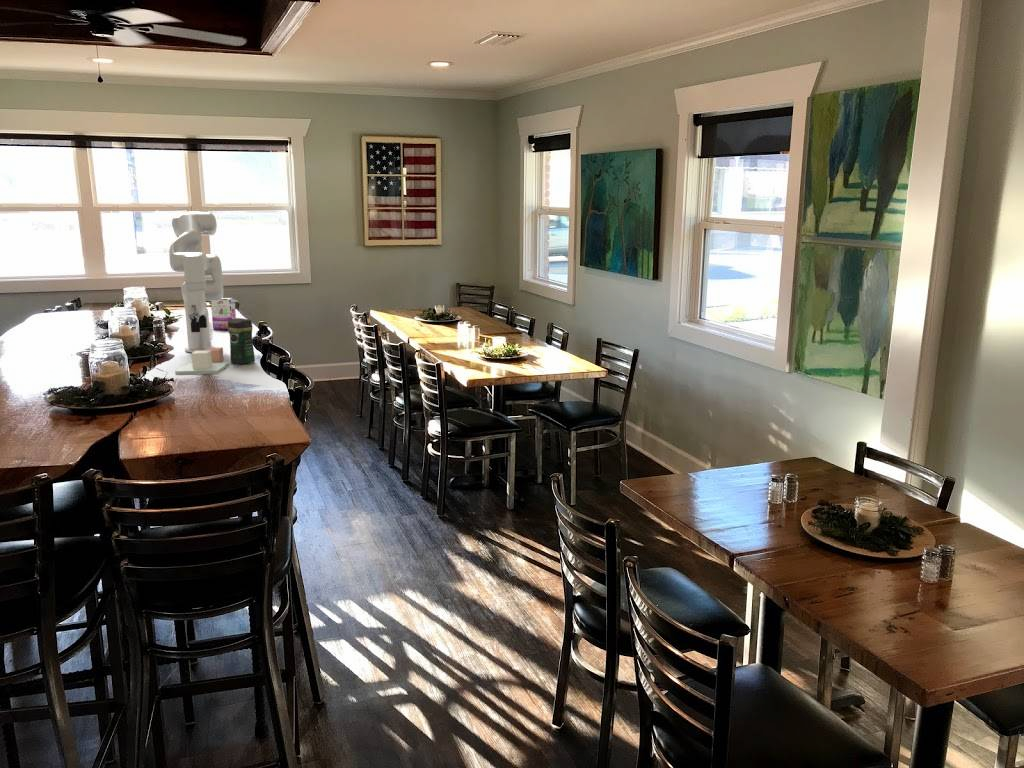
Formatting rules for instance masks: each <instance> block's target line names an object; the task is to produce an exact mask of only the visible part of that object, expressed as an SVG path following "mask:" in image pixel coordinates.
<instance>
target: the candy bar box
mask: <svg viewBox="0 0 1024 768" xmlns="http://www.w3.org/2000/svg"><path fill="white" fill-rule="evenodd" d="M235 300H236V299H235V297H223V298H222V299H221V300H215V301H210V306H211V308H210V309H211V318H212V330H213V329H228V321H229V320H230V319H234V318H237V313H236V301H235Z"/></svg>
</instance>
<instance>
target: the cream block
mask: <svg viewBox="0 0 1024 768" xmlns="http://www.w3.org/2000/svg"><path fill="white" fill-rule="evenodd" d="M190 355H191V363H192V367H193V368H209V367H211V366H212V356H211V351H194V352H190Z"/></svg>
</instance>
